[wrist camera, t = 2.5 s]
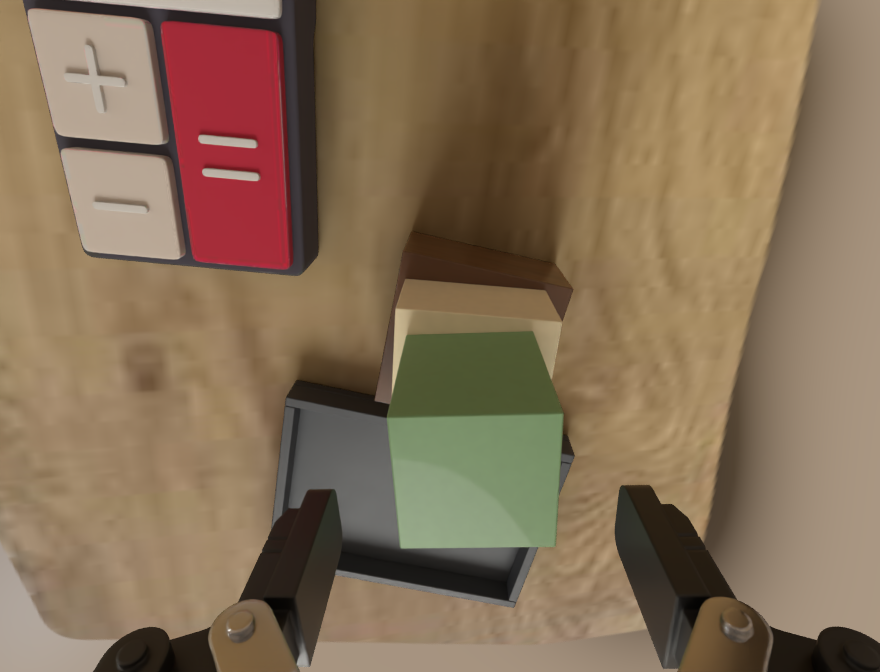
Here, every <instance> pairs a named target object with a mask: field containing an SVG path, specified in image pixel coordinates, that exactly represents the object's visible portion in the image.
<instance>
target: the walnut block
mask: <svg viewBox="0 0 880 672" xmlns="http://www.w3.org/2000/svg"><path fill="white" fill-rule="evenodd" d="M405 279H415V280H427V281H439V282H451V283H463V284H475V285H487V286H499V287H511V288H523V289H535V290H545V291H546V292H547V294H548V296H549V298H550V300H551V302H552V304H553V305H554V307H555V309H556V311H557V313H558V315H559V317H560V318H561V320H562V321H563V318H564V315H565V312H566V309H567V307H568V304H569V301H570V298H571V295H572V292H573V288H572V287H571V285H570V284H569V282H568V281H567V280H566V278H565V277H564V275H563V274H562V273H561V271H560V270H559V268H558V267H557V266H556V264H554V263H549V262H545V261H540V260H536V259H531V258H527V257H523V256H518V255H514V254H509V253H505V252H501V251H496V250H492V249H487V248H483V247H478V246H474V245H470V244H465V243H461V242H456V241H452V240H447V239H443V238H439V237H434V236H430V235H425V234H421V233H416V232H411V234H410V236H409V239H408V241H407V243H406V246H405V248H404V251H403V254H402V259H401V265H400V270H399V275H398V280H397V285H396V291H395V296H394V301H393V306H392V311H391V316H390V322H389V327H388V332H387V337H386V342H385V348H384V353H383V358H382V363H381V368H380V373H379V379H378V384H377V389H376V394H375V399H374V400H375V401H378V402H383V403H388V404H390V401H391V397H392V375H393V352H394V330H395V309H396V306H397V303H398V299H399V296H400V293H401V290H402V287H403V284H404V281H405Z"/></svg>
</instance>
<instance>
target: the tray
mask: <svg viewBox="0 0 880 672" xmlns="http://www.w3.org/2000/svg"><path fill="white" fill-rule="evenodd" d="M374 399H375V396H372V395H367V394H362V393H357V392H352V391H347V390H342V389H338V388H333V387H328V386H323V385H318V384H313V383H308V382H304V381H299V380H296V382H295V384H294V385H293V387H292V389H291V390H290V392H289V393H288V395H287V397H286V401H285V410H284V419H283V428H282V437H281V447H280V456H279V465H278V474H277V483H276V492H275V501H274V510H273V519H272V528H273V525H274V523H275V522H276V521H277V520H278V519H279V518H280V516H281V515H282V514H283V513H284V512H285V511H286V510H287V509H288V508H300V506H301V504H302V501H303V499H304V496H305V494H306V492H307V490H309V489H335V491H336V494H337V500H338V506H339V513H340V519H341V526H342V549H341V554H340V558H339V562H338V565H337V569H336V573H335V575H338V576H343V577H349V578H354V579H359V580H365V581H370V582H376V583H381V584H387V585H392V586H398V587H403V588H408V589H414V590H419V591H425V592H430V593H436V594H441V595H447V596H452V597H457V598H463V599H468V600H474V601H479V602H485V603H490V604H496V605H501V606H506V607H512V608H514V607H515V604H516V602H517V599H518V597H519V594H520V592H521V589H522V587H523V584H524V582H525V579H526V577H527V574H528V572H529V569H530V567H531V564H532V562H533V559H534V557H535V554H536V552H537V549H538V547H493V548H400V543H399V533H398V524H397V514H396V504H395V494H394V484H393V475H392V465H391V455H390V446H389V435H388V425H387V414H388V410H389V406H390V404H388V403H383V402H378V401H375V400H374ZM574 457H575V455H574V452H573V450H572V447H571V444H570V442H569V438H568V436H566V435H563V436H562V452H561V469H560V485H559V494H560V492H561V489H562V487H563V484H564V482H565V479H566V477H567V474H568V472H569V469H570V467H571V463H572V462H573V459H574ZM272 528H271V530H272Z"/></svg>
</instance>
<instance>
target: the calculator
mask: <svg viewBox="0 0 880 672" xmlns="http://www.w3.org/2000/svg"><path fill="white" fill-rule="evenodd" d="M23 3H24V7H25V11H26V15H27V20H28V24H29V28H30V32H31V36H32V40H33V44H34V49H35V53H36V57H37V61H38V65H39V69H40V74H41V78H42V82H43V86H44V90H45V94H46V99H47V103H48V107H49V111H50V115H51V119H52V124H53V128H54V132H55V136H56V140H57V144H58V148H59V153H60V157H61V161H62V165H63V169H64V173H65V178H66V182H67V186H68V190H69V194H70V198H71V203H72V207H73V211H74V215H75V219H76V223H77V227H78V232H79V236H80V240H81V244H82V247H83V250H84V252H85V253H86V254H87V255H89V256H91V257H96V258H106V259H117V260H127V261H138V262H149V263H160V264H171V265H182V266H193V267H204V268H214V269H225V270H236V271H247V272H258V273H269V274H280V275H291V276H299V275H301V274H302V273H303V272H304V271H305V270H306V269H307V268H308V267H309V265H310V264H311V263H312V262H313V261H314V260H315V259H316V257H317V256H318V213H317V173H316V132H315V92H314V52H313V40H314V32H315V24H316V0H23Z"/></svg>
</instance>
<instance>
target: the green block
mask: <svg viewBox="0 0 880 672" xmlns="http://www.w3.org/2000/svg"><path fill="white" fill-rule="evenodd" d="M563 419H564V413H563V410H562V407H561V405H560V402H559V399H558V396H557V394H556V391H555V388H554V386H553V383H552V380H551V378H550V375H549V372H548V370H547V367H546V364H545V362H544V359H543V356H542V354H541V351H540V348H539V345H538V343H537V340H536V337H535V335H534V332H533V331H522V332H489V333H456V334H422V335H406V338H405V342H404V347H403V351H402V355H401V359H400V363H399V368H398V372H397V376H396V380H395V385H394V389H393V393H392V397H391V401H390V406H389V410H388V414H387V425H388V435H389V445H390V455H391V465H392V475H393V484H394V494H395V504H396V514H397V524H398V533H399V543H400V548H493V547H555V546H556V534H557V518H558V501H559V485H560V469H561V452H562V436H563Z"/></svg>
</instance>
